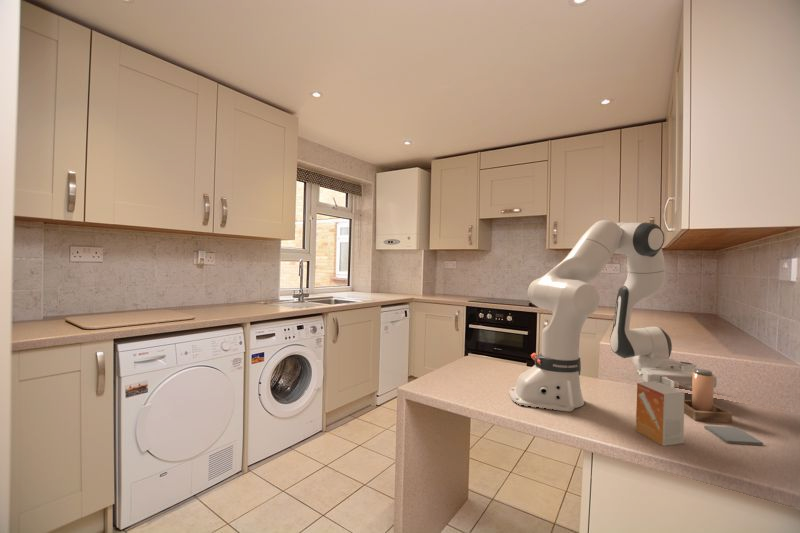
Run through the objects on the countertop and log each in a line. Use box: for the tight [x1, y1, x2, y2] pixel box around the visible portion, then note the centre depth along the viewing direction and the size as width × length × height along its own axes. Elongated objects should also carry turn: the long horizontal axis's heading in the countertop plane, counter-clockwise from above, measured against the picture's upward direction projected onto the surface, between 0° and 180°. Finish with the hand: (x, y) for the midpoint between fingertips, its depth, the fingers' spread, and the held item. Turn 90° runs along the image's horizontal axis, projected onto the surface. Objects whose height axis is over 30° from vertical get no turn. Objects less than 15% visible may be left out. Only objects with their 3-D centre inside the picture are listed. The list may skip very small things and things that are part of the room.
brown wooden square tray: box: [684, 399, 733, 423], centre depth 107 cm, size 9×9×2 cm
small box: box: [635, 381, 686, 447], centre depth 93 cm, size 8×6×13 cm
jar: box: [691, 368, 715, 412], centre depth 107 cm, size 5×5×13 cm
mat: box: [704, 425, 764, 446], centre depth 94 cm, size 8×8×1 cm
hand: (693, 386), depth 111 cm, fingers open, 8 cm apart
